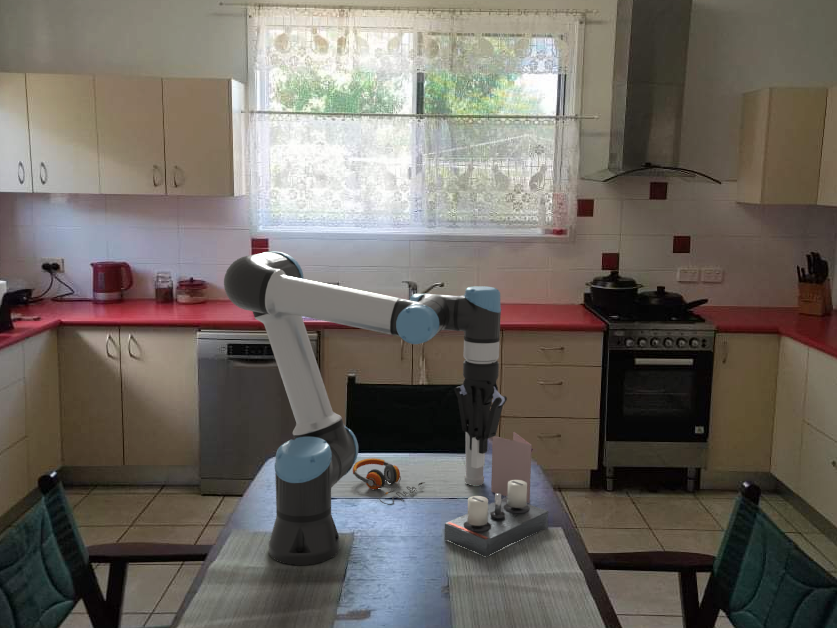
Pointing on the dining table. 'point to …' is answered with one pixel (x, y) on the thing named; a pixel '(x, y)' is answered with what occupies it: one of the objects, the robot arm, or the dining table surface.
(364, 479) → the headphones
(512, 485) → the knob far
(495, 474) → the greeting card
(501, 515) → the potentiometer stem
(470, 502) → the knob near
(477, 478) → the bottle
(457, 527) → the mount
